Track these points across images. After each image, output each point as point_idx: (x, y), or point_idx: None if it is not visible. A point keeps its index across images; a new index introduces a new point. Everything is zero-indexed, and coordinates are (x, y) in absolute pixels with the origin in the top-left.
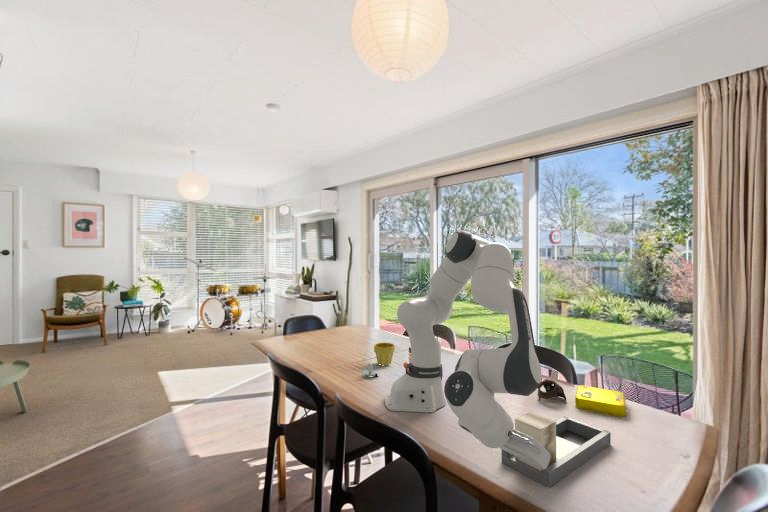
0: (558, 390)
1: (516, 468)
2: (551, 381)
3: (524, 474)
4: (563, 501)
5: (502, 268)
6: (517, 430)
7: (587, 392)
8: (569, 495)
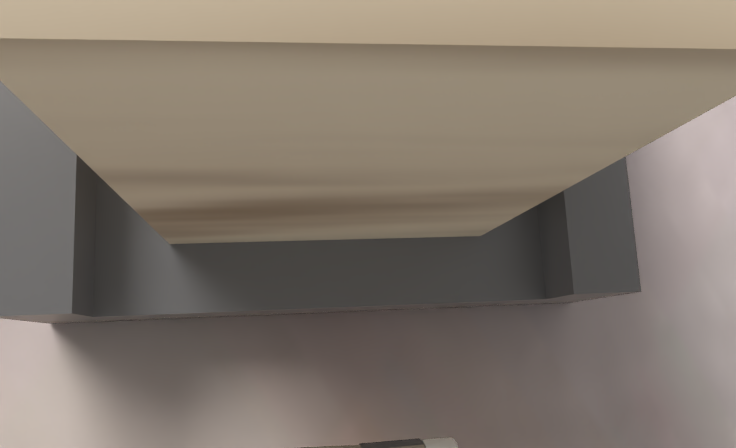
0: None
1: (236, 314)
2: None
3: (328, 311)
4: (726, 365)
5: None
6: (133, 148)
7: None
8: (704, 253)
